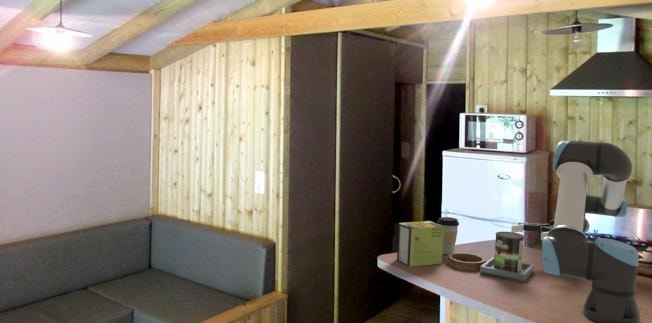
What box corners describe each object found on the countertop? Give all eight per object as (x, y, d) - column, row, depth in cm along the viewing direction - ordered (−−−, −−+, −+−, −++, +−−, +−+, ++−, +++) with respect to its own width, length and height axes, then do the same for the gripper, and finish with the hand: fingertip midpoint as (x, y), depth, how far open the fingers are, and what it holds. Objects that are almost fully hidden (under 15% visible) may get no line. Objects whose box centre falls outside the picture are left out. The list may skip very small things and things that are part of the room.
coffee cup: (458, 256, 215) (460, 222, 213) (435, 254, 217) (437, 220, 215) (456, 250, 224) (458, 217, 223) (435, 249, 226) (437, 216, 225)
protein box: (442, 263, 204) (444, 226, 203) (409, 267, 199) (411, 228, 197) (428, 256, 214) (429, 220, 212) (396, 259, 208) (397, 222, 207)
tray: (523, 283, 183) (524, 275, 183) (480, 274, 192) (480, 266, 192) (533, 272, 197) (534, 264, 196) (492, 264, 205) (492, 257, 205)
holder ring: (478, 272, 194) (478, 265, 193) (443, 265, 202) (443, 258, 201) (489, 264, 205) (489, 257, 205) (455, 257, 213) (456, 250, 213)
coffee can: (507, 276, 188) (509, 239, 186) (487, 267, 197) (489, 232, 195) (527, 273, 192) (530, 236, 190) (507, 265, 201) (510, 230, 200)
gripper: (588, 244, 199) (554, 249, 188) (533, 230, 220) (500, 235, 209) (589, 225, 198) (555, 229, 187) (534, 213, 219) (501, 217, 209)
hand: (526, 232), depth 198 cm, fingers open, 13 cm apart
